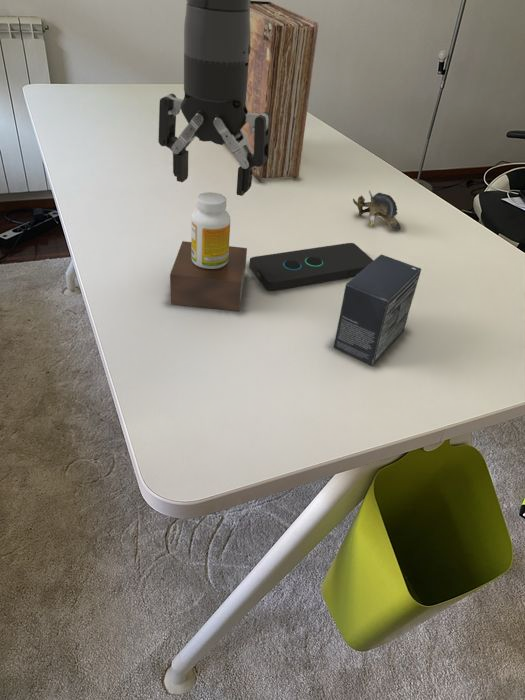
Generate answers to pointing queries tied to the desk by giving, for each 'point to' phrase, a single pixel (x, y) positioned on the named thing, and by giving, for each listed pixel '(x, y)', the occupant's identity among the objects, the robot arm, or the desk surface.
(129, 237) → the desk surface
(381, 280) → the small box
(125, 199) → the desk surface
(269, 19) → the book
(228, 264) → the walnut block
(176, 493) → the desk surface
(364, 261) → the smart home device
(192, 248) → the supplement bottle
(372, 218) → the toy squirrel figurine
